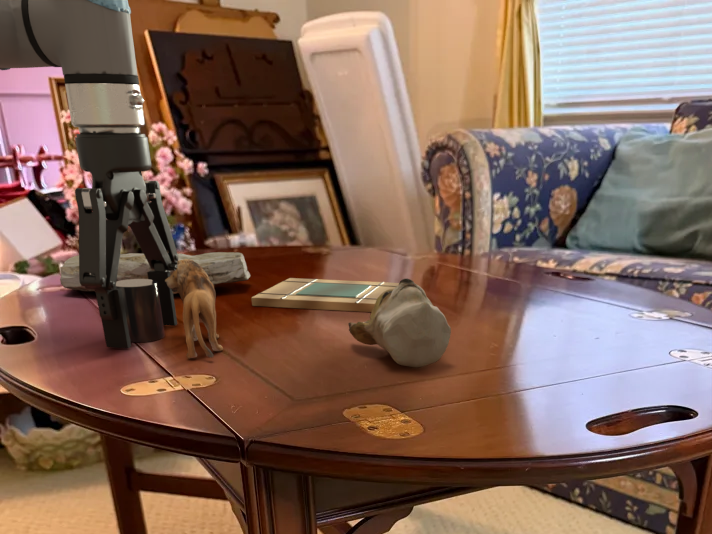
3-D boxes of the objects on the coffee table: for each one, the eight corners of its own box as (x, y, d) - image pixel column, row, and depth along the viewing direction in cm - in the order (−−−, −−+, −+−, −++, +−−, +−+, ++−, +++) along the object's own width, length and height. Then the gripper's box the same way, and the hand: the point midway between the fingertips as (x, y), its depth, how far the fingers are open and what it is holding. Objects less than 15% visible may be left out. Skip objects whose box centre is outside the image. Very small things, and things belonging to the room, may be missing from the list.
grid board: (251, 305, 109) (251, 296, 109) (289, 285, 123) (289, 277, 122) (387, 313, 106) (387, 303, 105) (410, 291, 119) (411, 282, 119)
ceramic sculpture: (375, 288, 74) (341, 272, 87) (376, 376, 78) (344, 348, 91) (476, 284, 77) (429, 269, 90) (473, 369, 81) (428, 343, 94)
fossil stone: (256, 282, 126) (253, 247, 123) (238, 300, 113) (235, 262, 110) (87, 280, 126) (80, 246, 123) (50, 298, 113) (42, 260, 110)
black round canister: (112, 341, 91) (102, 285, 88) (134, 330, 96) (126, 278, 93) (152, 343, 90) (143, 287, 87) (172, 333, 95) (165, 279, 92)
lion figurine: (171, 334, 94) (160, 257, 90) (214, 330, 96) (206, 255, 92) (189, 364, 83) (178, 278, 78) (238, 360, 84) (229, 275, 80)
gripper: (79, 132, 72) (121, 362, 82) (190, 130, 92) (213, 316, 102) (9, 131, 73) (59, 358, 84) (134, 130, 93) (161, 313, 104)
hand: (143, 335), depth 93 cm, fingers open, 11 cm apart
